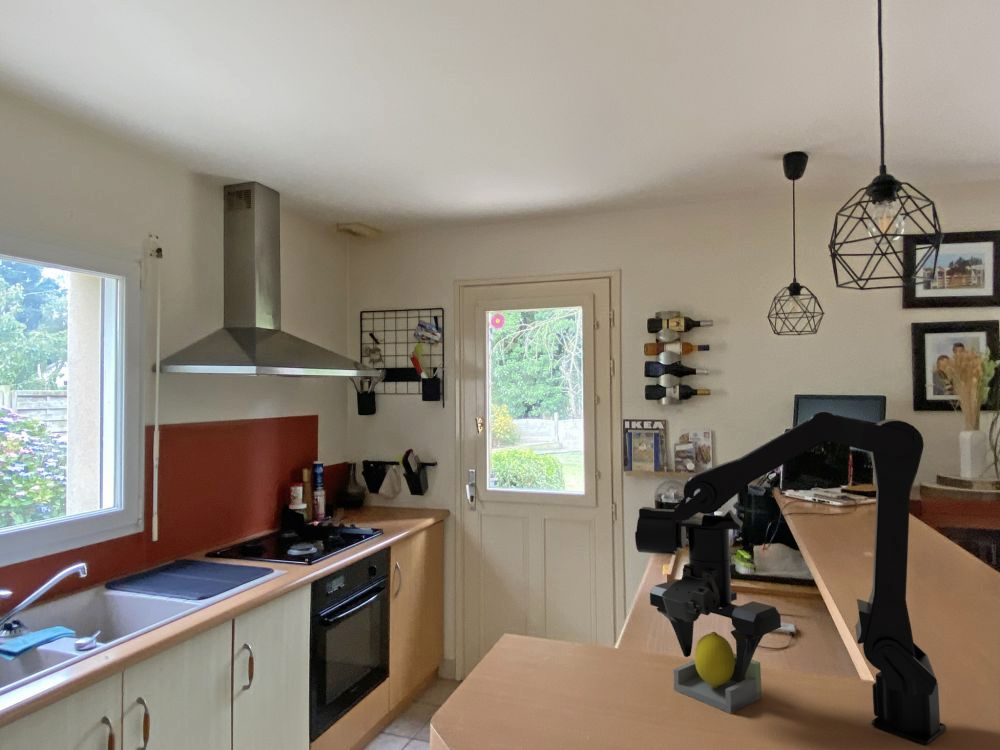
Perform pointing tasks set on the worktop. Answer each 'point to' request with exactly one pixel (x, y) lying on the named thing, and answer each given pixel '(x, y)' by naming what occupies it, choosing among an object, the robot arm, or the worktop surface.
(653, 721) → the worktop surface
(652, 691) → the worktop surface
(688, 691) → the miniature couch
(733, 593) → the robot arm
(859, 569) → the worktop surface
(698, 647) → the lemon
